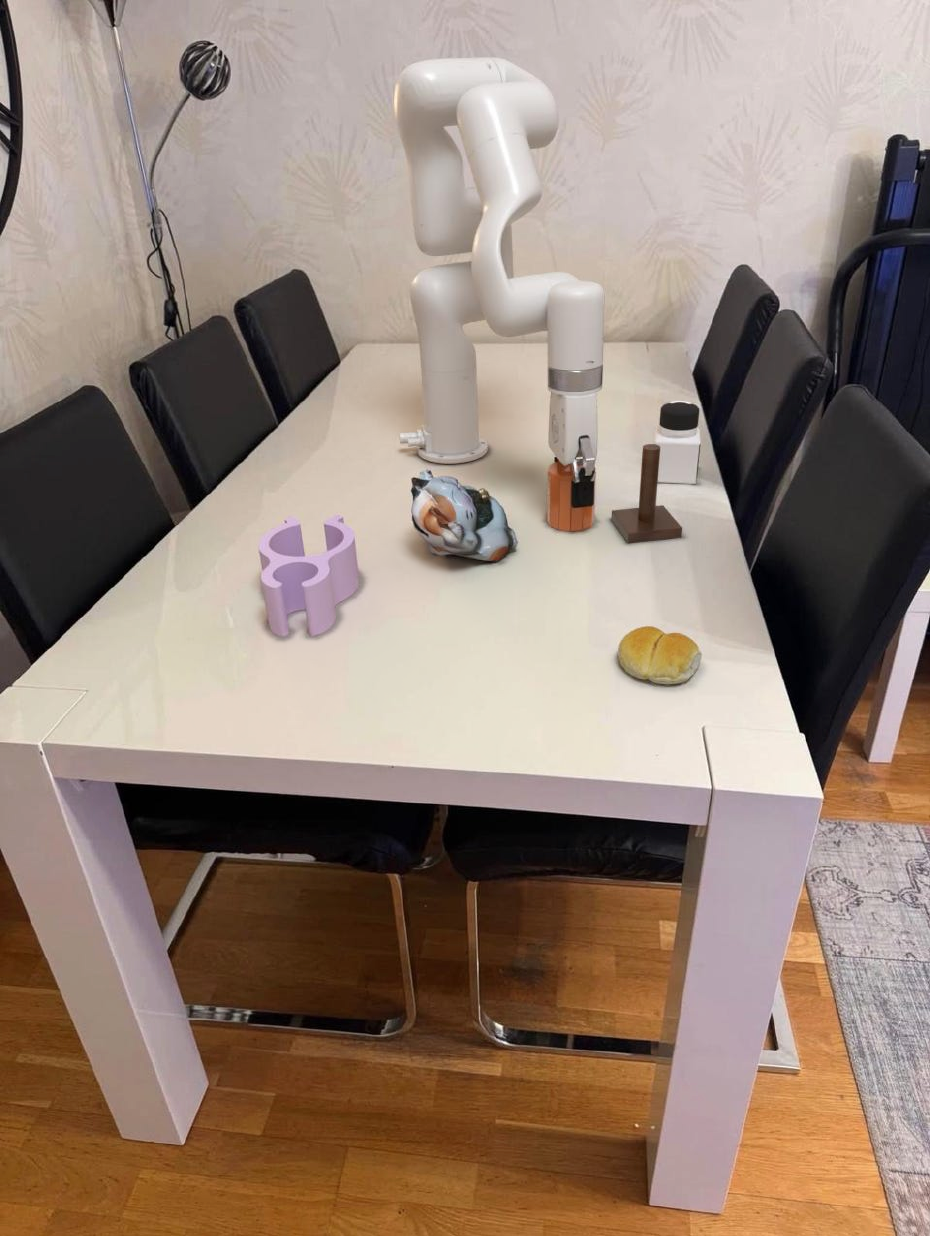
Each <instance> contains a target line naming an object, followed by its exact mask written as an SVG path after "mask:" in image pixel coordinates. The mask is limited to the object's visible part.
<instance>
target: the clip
mask: <svg viewBox="0 0 930 1236" xmlns="http://www.w3.org/2000/svg"><path fill="white" fill-rule="evenodd" d="M283 520H284V523H283V524H280V525H277V526H275V527H273V528H272V529H270V530H267V531H266V532H265V533H264V534H263V535H262V536H261V537H260V539H258V542H257V548H258V553H259V554H258V555H259V560H260V565H261V570H262V572H261V574H260V581H261V586H262V591H263V592H262V593H263V598H264V603H265V604H264V605H265V609H266V614H267V620H268V624H269V625H268V627H269V629H270V631H271V632H272V633H273V634H274V635H276V636H279V637H281V638H285V637H288V636H289V635H290V632H291V631H290V627H289V620H288V615H289V614H292V613H295V612H298V611H305V614H306V621H307V628H308V629H307V630H308V634H309V636H311V637H315V636H319V635H321V634H323V633H325V632H327V631H329V629H331V628H332V627H333V626H334V624H336V620H337V613H336V606H338V605H339V604H340V603H342V602H344V601H345V600H347V599H349V598H350V597H352V596H353V595H354V594H355V593H356V592H357V590H358V589H359V586H360V574H359V573H360V572H359V565H358V555H357V547H356V538H355V537H356V536H355V532H354V530H353V529H352V527H350V526H349V525H347V524H346V523H344V515H342V514H335V515H333V516H331V517H329V518H327V519H326V520H325V521H323V529H324V536H325V543H326V544H325V545H326V551H325V552H321V553H318V554H314V555H307V556H306V553H305V545H304V539H303V534H302V533H303V532H302V527H301V521H300V520H299V519H298V518H297V517H295V516H293V515H292V516H291V515H290V516H286V517H285V518H284V519H283Z"/></svg>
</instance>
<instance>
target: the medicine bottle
mask: <svg viewBox="0 0 930 1236" xmlns="http://www.w3.org/2000/svg"><path fill="white" fill-rule="evenodd" d="M659 411H660V412H659V424H658V426H656V427H655V429H654V442H653V444H656V445H659V446H660V458H659V471H658V483H660V484H661V483H663V484H680V485H681V484H682V485H683V484H684V485H696V484H697V483H698V473H699V463H700V454H701V445H702V442H701V441H702V440H701V429H700V427H699V421H700V419H699V418H700V408H699V406H698V405H696V404H695V403H693V402H690V401H685V400H672V401H669V402H666V403H664V404H662V406H661V407H660V410H659Z"/></svg>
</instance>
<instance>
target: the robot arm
mask: <svg viewBox="0 0 930 1236" xmlns="http://www.w3.org/2000/svg"><path fill="white" fill-rule="evenodd" d="M394 87H395V88H394V93H393V94H394V95H393V112H394V119H395V123H396V127H397V130H398V134H399V137H400V140H401V143H402V146H403V147H402V148H403V150H404V153H405V158H406V162H407V163H406V164H407V170H408V183H409V193H410V195H409V196H410V204H411V206H410V207H411V213H412V214H411V215H412V225H413V233H414V240H415V242H416V246H417V247H418V249H419V251H420V252H421V253H423V254H424V255H427V256H429V257H444V256H445V257H446V256H453V255H461V254H465V253H466V254H468V253H471V257H470V259H471V260H468V261H461V262H453V263H445V264H439V265H434V266H430V267H428V268H425V269H423V270H421V271H419V272H418V274H416V276H414V278H413V279H412V281H411V284H410V287H409V288H410V289H409V296H410V297H409V298H410V303H411V309H412V313H413V317H414V321H415V326H416V331H417V337H418V346H419V347H418V348H419V357H420V358H419V359H420V360H419V361H420V368H421V369H420V372H421V373H420V374H421V387H422V404H423V417H424V418H423V420H424V423H423V424H421V429H416V432H415V431H414V432H409V431H408V432H399V433H398V436H399V444H400V445H404V444H405V445H406V444H407V447H408V448H409V447H417V454H418V456H419V457H420V458H421V459H423V460H424V461H427V462H431V463H434V464H443V465H444V464H445V465H446V464H447V465H453V464H455V465H456V464H464V463H468V462H473V461H476V460H478V459H481V458H483V457H484V456H485V455H487V453H488V451H489V444H488V442H487V440H485V439H484V438H482V437H480V433H479V432H480V431H479V430H480V429H479V401H478V400H479V399H478V366H477V351H476V348H475V345H474V343H473V341H471V339H470V337H469V336H468V335H467V334H466V332H465V331H464V329H463V326H464V325H467V324H471V323H476V322H482V321H485V322H486V323H487V325H488V327H489V328H490V329H491V331H492V332H493V333H494V334H496V335H497V336H500V337H503V338H513V337H521V336H526V335H530V334H535V333H541V332H547V333H546V335H547V339H546V340H547V345H546V346H547V390H548V391H549V392H550V397H549V412H548V433H547V434H548V435H547V437H548V440H547V441H548V442H547V443H548V447H549V449H550V450H551V452H552V453H553V455H554V457H553V458H554V462H553V463H555V462H557V461H560V462H561V463H562V464H563V465H564V466H567V465H568V464H571V466H572V472H573V478H574V480H573V481H571V506H572V507H573V508H580V507H589V506H593V505H594V481H595V474H594V473H595V471H596V466H595V464H596V460H597V454H598V440H599V439H598V432H599V431H598V399H597V393H599V392H600V391H601V390H602V389H603V378H604V376H603V374H604V341H605V340H604V339H605V307H606V306H605V305H606V299H605V295H606V294H605V291H604V288H603V286H602V285H601V284H600V283H597V282H594V281H591V280H580V279H579V278H577V277H576V276H574V275H573V274H571V273H568V272H566V271H551V272H546V273H540V274H531V275H524V276H519V277H515V276H514V252H513V251H514V250H513V228H512V224H513V223H515V222H517V221H518V220H520V219H521V218H523V217H524V216H526V215H527V214H528V213H530V212H531V211H532V210H534V209H535V208H536V207H537V205H538V204H539V202H541V199H542V196H543V188H542V184H541V181H540V177H539V175H538V172H537V168H536V165H535V162H534V157H533V155H532V151H531V150H536V149H543V148H545V147H547V146H549V145H550V144H551V143H552V142H553V141H554V139H555V137H556V135H557V132H558V129H559V123H560V121H559V120H560V119H559V111H558V106H557V101H556V99H555V97H554V95H553V93H552V91H551V90H550V89H549V87H548V86H547V85H546V83H544V82H543V81H542V80H540V79H539V78H538V77H536V76H535V75H533V74H532V73H530V72H528V71H526V70H525V69H523V68H522V67H520V66H518V65H517V64H515V63H513V62H511V61H509V60H507V59H504V58H503V57H493V56H487V57H486V56H485V57H481V56H480V57H448V58H447V57H445V58H444V57H443V58H432V59H431V58H430V59H425V60H420V61H417V62H414V63H412V64H409V65H408V66H406V67H405V68H404V69H403V70H402V71H401V72H400V74H399V75H398V77H397V80H396V83H395V86H394ZM454 126H455V127H456V126H457V128H458V132H459V135H460V138H461V142H462V145H463V148H464V151H465V155H466V158H467V162H468V164H469V168H470V171H471V175H472V179H473V181H474V185H475V186H470V187H469V186H468V187H466V185H465V177H464V162H463V161H464V160H463V155H462V153H461V150H460V149H459V147H458V145H457V143H456V141H455V140H454V139H453V137H452V135H451V134H450V133H449V132H448V131H447V129H446V127H454ZM580 465H583V466H584V467H582V468H581V469H580V471H579V472H578V467H577V466H580ZM594 466H595V468H594ZM594 470H595V471H594Z"/></svg>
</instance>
